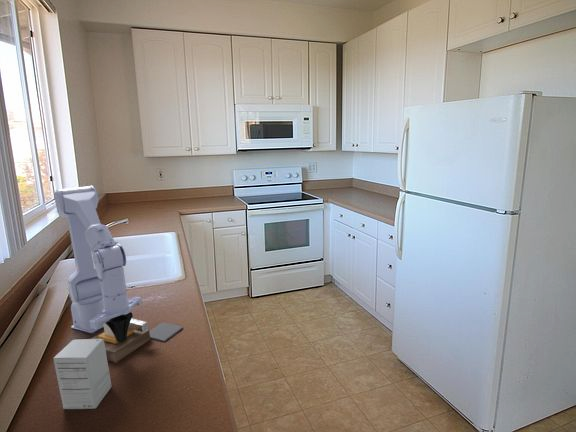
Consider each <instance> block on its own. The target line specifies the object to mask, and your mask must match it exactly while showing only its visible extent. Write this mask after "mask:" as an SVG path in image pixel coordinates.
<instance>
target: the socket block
mask: <svg viewBox="0 0 576 432" xmlns="http://www.w3.org/2000/svg"><path fill="white" fill-rule="evenodd" d="M149 331H150V329H149V328H148V329H146V330H145V331H143V332H141V331H136V330H134V332H133V333H132V334H130V335H129V336H127V338H126V341H124V342H123V343H121V342H118V343H116V344H115V343H111V342H107V341H104V344H105V350H106V356H107V361H109V362H112V363H119V362H120V361H121V360H123V358H125V357H127V356H128V355H130V354H131V353H133V352H134V351H136V350H137V349H138V348H140V347H142V346H143V345H144V344H145V343H147V342H149V341H150V340H151V339H150V333H149ZM102 333H104V330H103V331H102V332H100V333H98V334H97V335H95V336H93V337H92V338H91V337H90V339H99V338H98V336H99V335H101V334H102Z"/></svg>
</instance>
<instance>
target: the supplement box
mask: <svg viewBox="0 0 576 432" xmlns="http://www.w3.org/2000/svg"><path fill="white" fill-rule="evenodd" d="M53 364H54V369H55V373H56V378H57V383H58V384H57V385H58V387H59V394H60V398H61V404H62V408H63V409H64V410H87V409H88V410H89V409H91V410H92V409H93V410H94V409H97V408H98V406H99V405H100V404H101V402H102V400H103V399H104V398H105V396H106V395H107V394H108V392H109V391H110V390H111V388H112V381H111V375H110V368H109V362H108V360H107V356H106V350H105V344H104V339H91V338H88V339H87V338H81V339H78V338H77V339H72V340H71V341H70V342H69V343H68V344H67V345H66V346H65V347H64V348H62V349H61V350H60V351H59V352H58V353H57V354H56V355H55V356H54V357H53Z"/></svg>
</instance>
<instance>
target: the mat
mask: <svg viewBox="0 0 576 432" xmlns="http://www.w3.org/2000/svg"><path fill="white" fill-rule="evenodd" d="M183 329H184V326H180V325H177V324H171V323H166V322H161V323H159V324H157V325H156V326H155V327H154V328H152V329H149V333H150V340H151V339H152V340H155V341H159V342H164V343H165V342H167V341H168V340H169V339H170V338H172V337H174V336H175V335H176V334H177V333H179V332H180V331H181V330H183Z"/></svg>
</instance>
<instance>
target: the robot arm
mask: <svg viewBox="0 0 576 432" xmlns="http://www.w3.org/2000/svg"><path fill="white" fill-rule="evenodd" d="M98 194H99V193H98V192H97V189H96V187H94V186H93V185H88V186H78V187H70V188H57V189H56V190H55V191H54V201H55V206H56V212H57V214H58V217H60V218H65V219H66V222H67V224H68V225H67V226H68V231H69V236H70V241H71V246H72V251H73V252H72V253H73V257H74V262H75V268H76V269H75V271H74V272H72V273H71V275H70V276H69V277H68V278H67V285H68V286H67V289H68V294H69V299H70V300H71V302H72V303H71V306H70V311H71V317H72V323H73V325H71V327H70V328H71V329H75V330H78V331H82V332H86V333H89V334H94V333H95V332H97V331H100V330H101V329H102V328H104V325H103V324H104V323H106V324H107V325H108V327H109V328H110V329H111V330H112V332H113V334H114V336H115V338H116V340H117V341H118V342H121V343H123V342H124V341H126V338H127V331H128V327H129V323H130V321H131V319H133V312H132V309H133V308H134V307H136V306H141V305H142V304H143V303H142V297H140V296H134V297H132V298H128V291H127V283H126V277H125V276H126V275H125V269H124V267H125V266H126V265H127V255H126V253H125V249H124V247H123V246H122V245H121V244H120V243H119V241H115V239H114V237H113V236H112V233H111V231H110V229H109V228H108V226H107V225H105V224H102V223H101V221H100V218H99V215H98V211H97V208H98V204H99V195H98Z"/></svg>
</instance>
